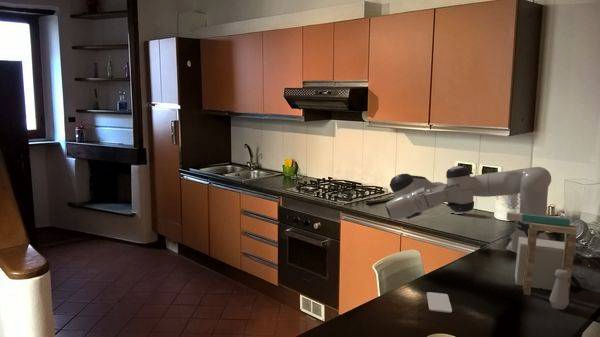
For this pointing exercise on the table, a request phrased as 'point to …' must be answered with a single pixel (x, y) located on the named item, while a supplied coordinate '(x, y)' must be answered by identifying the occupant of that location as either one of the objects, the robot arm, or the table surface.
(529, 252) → the wooden stand
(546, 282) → the white rectangular block
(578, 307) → the table surface
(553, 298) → the salt shaker
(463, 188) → the robot arm
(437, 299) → the smartphone
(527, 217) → the marker
